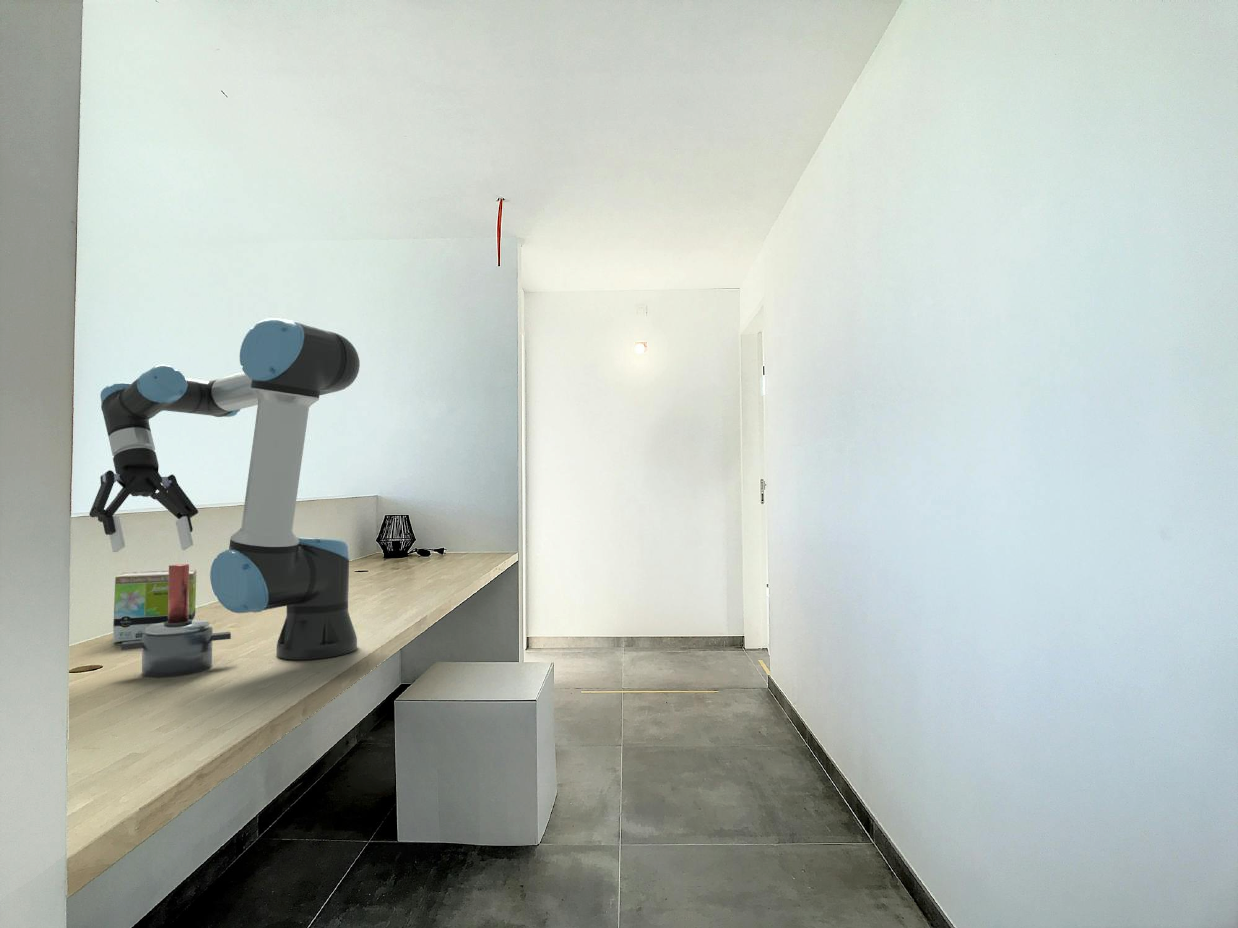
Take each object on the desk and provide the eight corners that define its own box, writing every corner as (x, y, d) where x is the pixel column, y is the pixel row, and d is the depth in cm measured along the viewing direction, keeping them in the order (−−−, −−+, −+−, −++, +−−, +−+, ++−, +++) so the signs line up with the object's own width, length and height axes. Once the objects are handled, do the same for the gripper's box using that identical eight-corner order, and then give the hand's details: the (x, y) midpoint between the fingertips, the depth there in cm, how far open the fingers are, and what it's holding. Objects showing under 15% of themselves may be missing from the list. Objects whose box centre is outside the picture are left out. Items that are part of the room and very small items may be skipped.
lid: (221, 626, 134) (221, 562, 135) (184, 637, 124) (185, 568, 125) (172, 625, 135) (173, 562, 136) (131, 636, 125) (133, 568, 126)
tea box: (112, 644, 153) (113, 576, 153) (120, 635, 162) (121, 571, 162) (192, 636, 160) (193, 571, 160) (195, 629, 169) (196, 567, 169)
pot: (228, 657, 139) (229, 621, 139) (231, 669, 129) (231, 630, 130) (124, 669, 130) (124, 631, 130) (118, 682, 120) (119, 641, 121)
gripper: (181, 466, 159) (202, 553, 154) (56, 456, 136) (75, 558, 131) (202, 451, 156) (224, 539, 151) (78, 439, 134) (98, 542, 128)
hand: (154, 548), depth 141 cm, fingers open, 13 cm apart
